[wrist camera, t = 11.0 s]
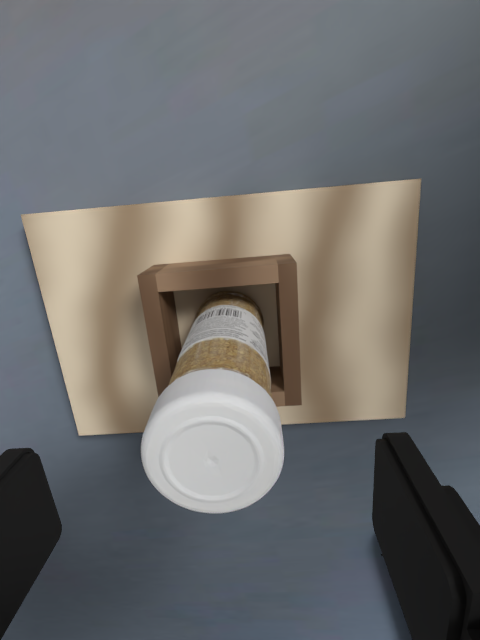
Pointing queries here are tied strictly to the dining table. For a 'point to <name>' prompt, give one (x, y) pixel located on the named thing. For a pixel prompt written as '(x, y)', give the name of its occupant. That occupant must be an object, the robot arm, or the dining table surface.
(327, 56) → the dining table surface
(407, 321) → the spice stand
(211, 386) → the sprinkles bottle
